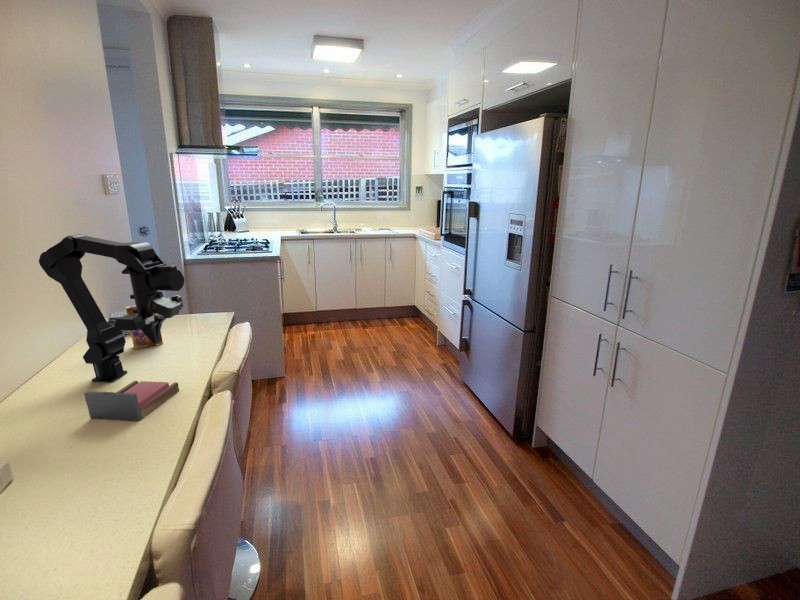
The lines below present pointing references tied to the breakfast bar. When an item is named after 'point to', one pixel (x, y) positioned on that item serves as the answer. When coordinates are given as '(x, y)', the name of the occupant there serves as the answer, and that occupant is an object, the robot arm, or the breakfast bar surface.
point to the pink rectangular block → (147, 390)
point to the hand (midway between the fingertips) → (155, 342)
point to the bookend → (113, 406)
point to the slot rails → (156, 400)
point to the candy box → (140, 333)
